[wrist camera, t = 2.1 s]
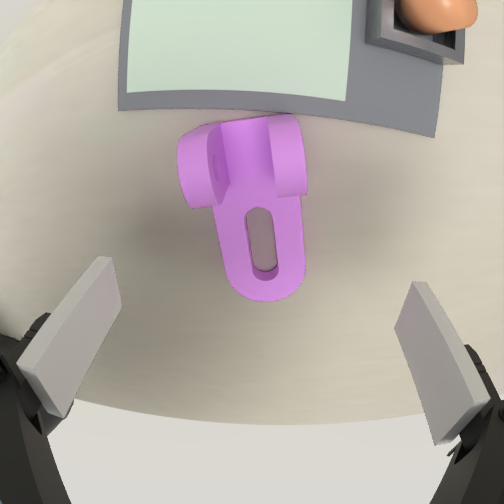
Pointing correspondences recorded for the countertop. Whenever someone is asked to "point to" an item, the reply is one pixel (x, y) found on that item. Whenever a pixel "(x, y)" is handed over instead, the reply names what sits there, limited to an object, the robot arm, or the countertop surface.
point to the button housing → (411, 37)
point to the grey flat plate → (272, 62)
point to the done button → (436, 15)
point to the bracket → (250, 194)
